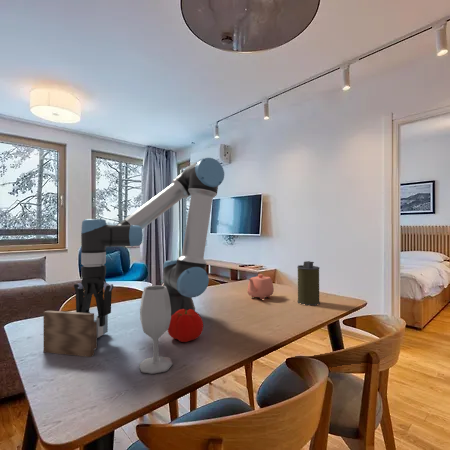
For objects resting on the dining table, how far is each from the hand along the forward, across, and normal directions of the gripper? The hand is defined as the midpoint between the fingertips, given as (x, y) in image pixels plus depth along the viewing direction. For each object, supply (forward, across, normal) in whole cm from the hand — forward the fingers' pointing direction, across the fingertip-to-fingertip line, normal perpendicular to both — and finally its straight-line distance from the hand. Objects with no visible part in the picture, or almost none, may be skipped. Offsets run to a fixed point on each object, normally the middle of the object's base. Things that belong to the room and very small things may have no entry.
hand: (93, 335), depth 97 cm
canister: (+1, -73, -61) cm, 95 cm away
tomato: (+1, -30, -6) cm, 31 cm away
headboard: (+1, 0, +9) cm, 9 cm away
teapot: (+1, -49, -67) cm, 83 cm away
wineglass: (+1, -29, +14) cm, 32 cm away
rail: (0, 0, +2) cm, 2 cm away
